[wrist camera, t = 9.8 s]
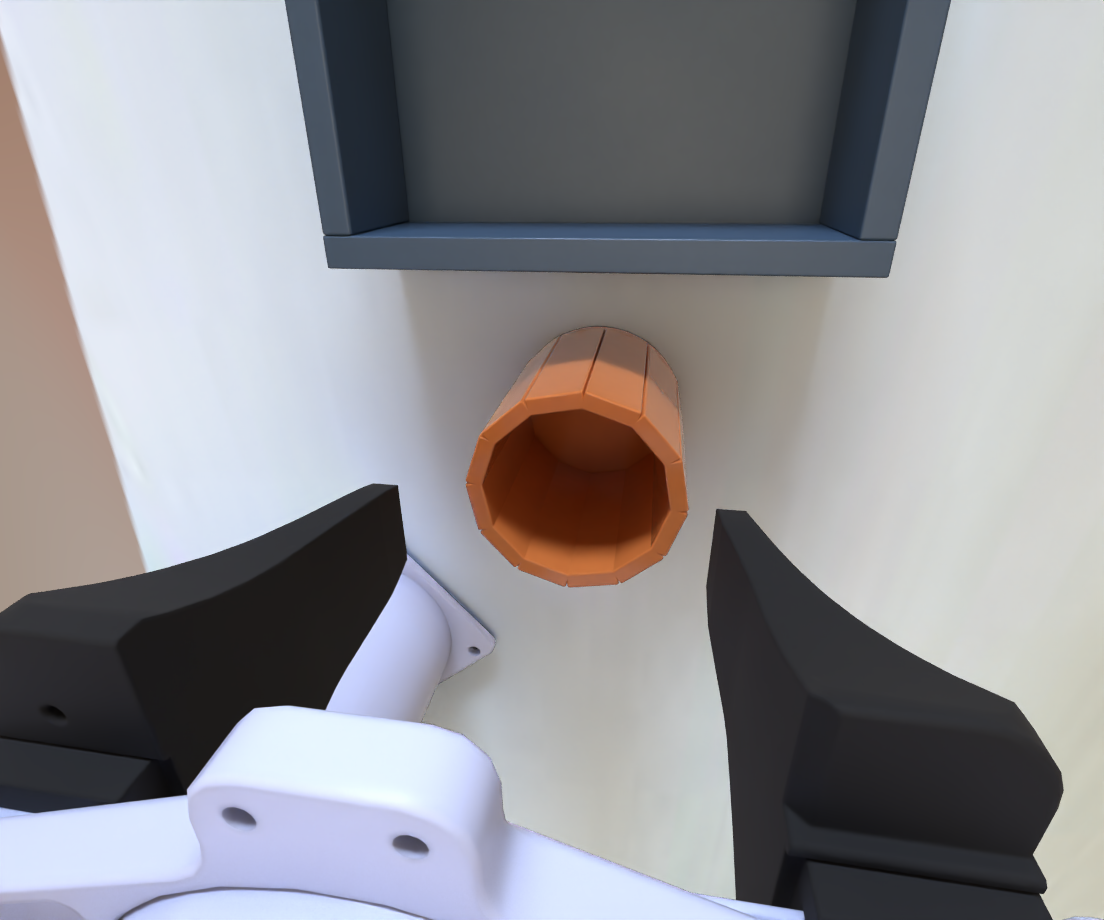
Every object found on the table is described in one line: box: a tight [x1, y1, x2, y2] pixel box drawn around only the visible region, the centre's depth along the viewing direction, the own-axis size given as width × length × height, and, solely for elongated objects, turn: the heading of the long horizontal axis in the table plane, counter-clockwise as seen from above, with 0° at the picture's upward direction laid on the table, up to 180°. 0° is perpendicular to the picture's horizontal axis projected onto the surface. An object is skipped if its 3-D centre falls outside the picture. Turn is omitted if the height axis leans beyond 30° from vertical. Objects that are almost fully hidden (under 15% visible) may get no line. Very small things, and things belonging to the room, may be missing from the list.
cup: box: [466, 327, 689, 587], centre depth 18 cm, size 6×6×6 cm
